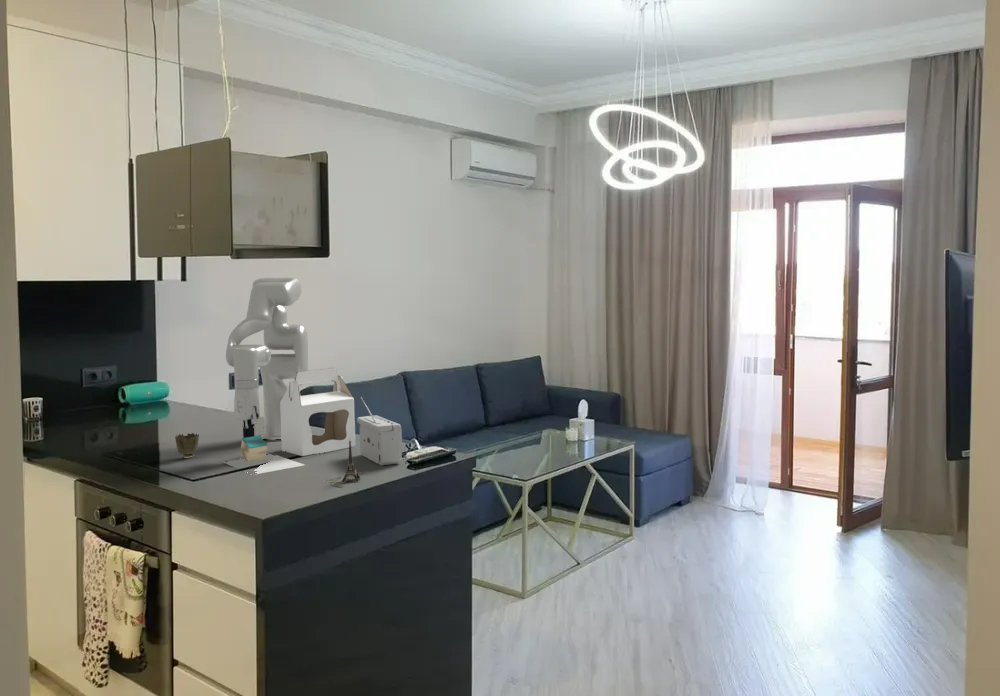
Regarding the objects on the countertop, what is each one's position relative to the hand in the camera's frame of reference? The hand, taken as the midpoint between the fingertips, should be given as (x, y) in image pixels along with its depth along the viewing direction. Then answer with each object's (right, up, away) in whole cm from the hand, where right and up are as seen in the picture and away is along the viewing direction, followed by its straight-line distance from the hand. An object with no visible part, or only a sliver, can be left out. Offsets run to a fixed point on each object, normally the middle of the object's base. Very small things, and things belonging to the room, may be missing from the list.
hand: (249, 439), depth 263 cm
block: (+2, -6, -1) cm, 6 cm away
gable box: (+19, -5, +17) cm, 26 cm away
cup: (-22, -7, +4) cm, 23 cm away
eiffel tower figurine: (+39, -10, -27) cm, 48 cm away
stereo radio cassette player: (+43, -7, -1) cm, 44 cm away
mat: (+6, -7, -6) cm, 11 cm away
